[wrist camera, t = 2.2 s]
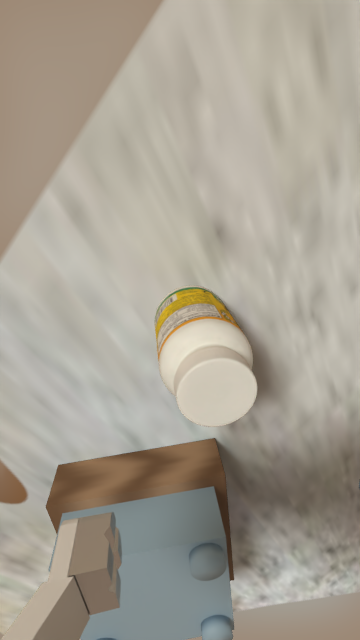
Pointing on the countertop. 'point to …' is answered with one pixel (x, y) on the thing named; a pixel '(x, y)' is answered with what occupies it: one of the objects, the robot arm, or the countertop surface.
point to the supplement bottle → (204, 357)
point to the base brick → (140, 480)
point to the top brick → (167, 570)
